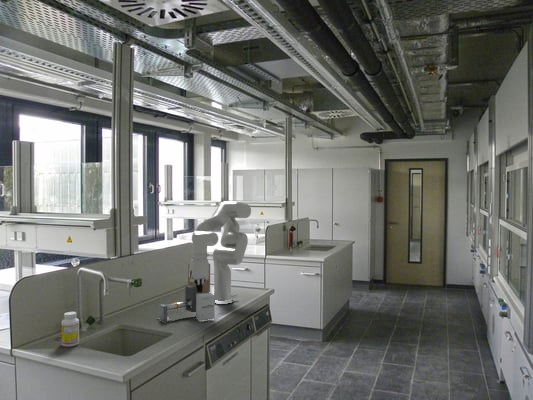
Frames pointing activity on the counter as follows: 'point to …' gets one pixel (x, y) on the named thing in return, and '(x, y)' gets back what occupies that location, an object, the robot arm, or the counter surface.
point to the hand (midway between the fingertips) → (199, 292)
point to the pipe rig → (172, 307)
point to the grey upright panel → (191, 297)
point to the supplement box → (205, 306)
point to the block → (205, 286)
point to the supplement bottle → (70, 330)
